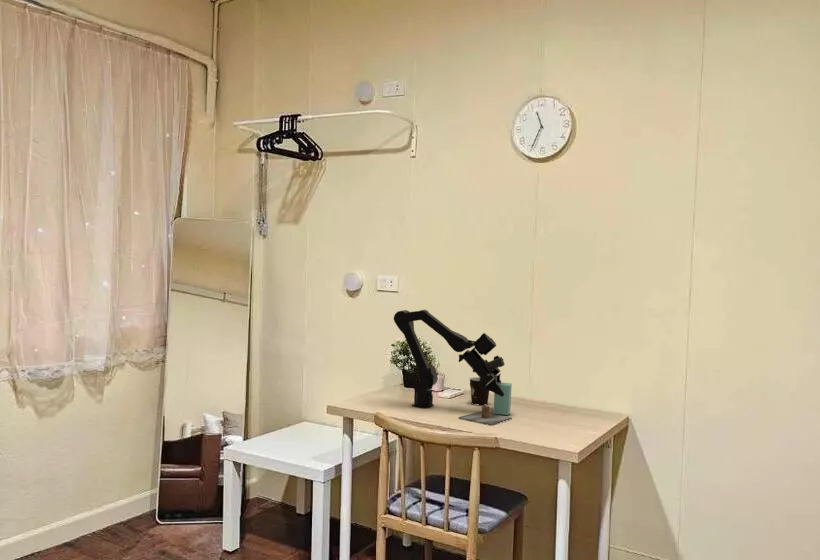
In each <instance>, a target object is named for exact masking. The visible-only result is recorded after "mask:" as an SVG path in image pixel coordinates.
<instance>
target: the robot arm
mask: <svg viewBox="0 0 820 560" xmlns="http://www.w3.org/2000/svg"><path fill="white" fill-rule="evenodd" d="M393 321H394V324H395V325H396V326H397V328H398V330H399V331H400V332H401V333H402V334H403V336H404V338H405V341H406V342H407V345H408V348H409V350H410V353H411V355H412V358H413V360H414V362H415V364H416V367H417V377H418V382H417V383H415V385H413V389H414V390H413V391H414V397H413V398H414V400H413V403H412V404H411V407H417V408H423V409H426V408H427V409H428V408H429V407H433V406H434V405H435V404H433V401H434V400H433V398H434V395H433V391H432V389H433V386H434V385H436V384H437V382H438V380H439V379H438V376H439V374H438V372H437V370H436V367H435V365H432V366H431V365H430V364H429V363H428V361H427V360H428V359H427V358H426V356H425V353H424V351H423V348H422V346H421V344H420V341H419V339H418V336H417V334H416V331H415V323H414V322H416V321H422V322H423V323H424V324H425V325H426V326H428V327H429V328H431V329H432V330H434V331H435V332H436V333H437V334H438V335H440V336H441V337H442V338H443V339H444V340H445V341H446V343H447V344H448V345H449V347H451V349H452V350H453V351H454V352H455V353H461V354H458V362H459V363H461V362H462V361H463V360H464V361H465V362H466V364H468V366H469V367H470V368H471V369H472V372H473V373H474V374H476V375H477V377H480V380H479V381H478V385H479V386H480V387H481V389H482V388H483V387H484V386H485V385H487V386H485V387H484V389H487V390H489V392H492V393H496V394H498V395H500V396H502V397H503V396H504V393H503V392H502V390H501V389H500V387H499V385H498V384H497V382H501V383H503V382H502V380H501V373H500V372H501V369H500V368H502V367H504V365H505V361H504V358H503V357H502V356H499V355H495V356H493V359H492V360H490V361H488V360H487V359H484V358H483V357H482V355H484V356H487V355H488V354H489V353H490V352H491V351H492V350H493V349H495V348H496V347H497V343H496V342H495V341H494V339H493V338H491V336H490V335H488V334H487V333H485V332H483V333H482V334H481V335H480V337H479V338H477V339H476V340H470V339H468V338H467V337H466V336H464V335H463V334H460V333H459V332H457V331H454V330H452V329H450V327H448V326H447V325H446V324H444V323H443V322H442V321H440V320H439V319H438V318H437V317H435V316H434V315H432V314H431V313H430V312H429V311H428V310H427V309H420V310H417V311H409V310H406V309H402V310H399V311H396V312H395V313H394V315H393ZM471 348H472V349H471ZM468 349H471V350H468ZM462 352H464V353H462Z"/></svg>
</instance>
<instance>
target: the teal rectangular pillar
mask: <svg viewBox="0 0 820 560" xmlns="http://www.w3.org/2000/svg"><path fill="white" fill-rule="evenodd" d="M501 382H502V381H501ZM501 382H497V384H498V385H499V387H500V389H501V390H502V392H503V393H504V396H503V397H502V396H500V395H498V394H496V393H494V392H493V393H494V394H493V396H494V397H493V413H492V414H496V415H502V416H509V414H510V413H511V410H512V409H511V405H512V404H511V403H512V400H511V399H512V383H510V382H502V383H501Z"/></svg>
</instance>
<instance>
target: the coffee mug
mask: <svg viewBox="0 0 820 560" xmlns="http://www.w3.org/2000/svg"><path fill="white" fill-rule="evenodd" d="M479 380H480V377H479V376H477V377H470V378H469V386H470V387H469V388H470V397H471V398H470V401H471V404H472V403H473V404H479V405H478V406H485V405H484V404H487V405H488V402H489V396H490V391H489V390H487V389H484V387H485V386H487V385H485V386H484V387H483V388H482V389H481V387H480V386H479V385H478V381H479ZM473 404H472V405H473Z"/></svg>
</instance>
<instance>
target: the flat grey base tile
mask: <svg viewBox="0 0 820 560" xmlns="http://www.w3.org/2000/svg"><path fill="white" fill-rule="evenodd" d="M490 410H491V409H490V406H488V405H481V411H480V410H479V411H476V412H473V413H469V414H466V415H465V414H464V415H462V416H459V417H458V419H459V420H462V419H463V420H464V421H468V422H472V421H473V423H477V424H481V423H482V425H486V424H488V425H487V426H491V425H492V426H495V425H497V423H498V424H501V423H500V422H502V423H504V422H503V421H505V422H507V421H506V420H508V421H510V420H509V419H511V420H513V417H511V416H510V417H509V416H507V415H502V414H493V413H490ZM494 424H495V425H494Z"/></svg>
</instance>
